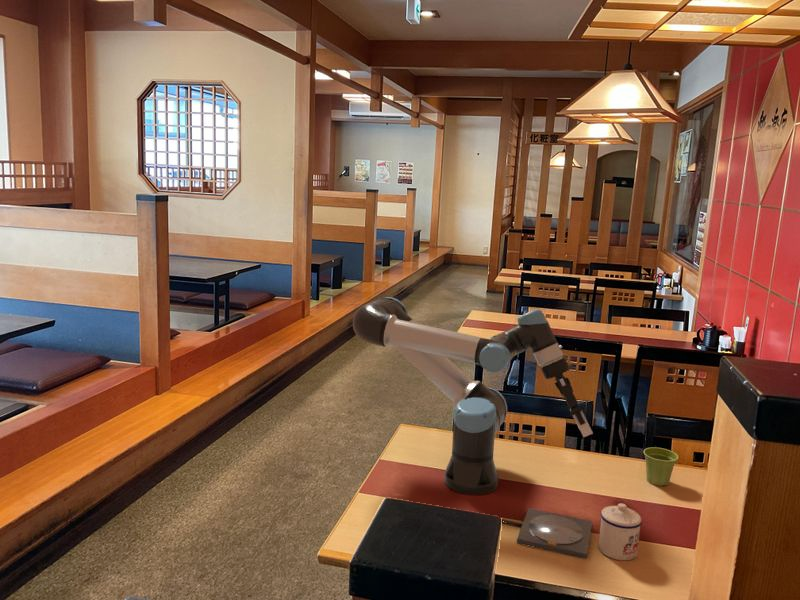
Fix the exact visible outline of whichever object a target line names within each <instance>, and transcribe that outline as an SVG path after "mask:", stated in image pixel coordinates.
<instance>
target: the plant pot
mask: <svg viewBox="0 0 800 600" xmlns="http://www.w3.org/2000/svg"><path fill="white" fill-rule="evenodd" d="M642 454H643V455H644V458H645V471H646V475H645V477H646V480H647V482H649V483H650V484H652V485H653V486H659V487H661V486H668V485H669V484H670V480H671V477H672V474H673V470H674V467H675V464H676V463H677V461H678V460H679V455H678V454H677V453H676V452H674V451H672V450H670V449H667V448H662V447H657V446H654V447H647V448H645V449H644V450H643V453H642Z"/></svg>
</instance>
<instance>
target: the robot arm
mask: <svg viewBox="0 0 800 600" xmlns="http://www.w3.org/2000/svg"><path fill="white" fill-rule="evenodd" d="M352 328H353V331H354V333H355V335H356V336H357V337H358V339H360V340H362V341H363V342H365V343H367V344H371V345H376V346H380V347H383V348H388V349H396V350H397V351H398V352H399V353H400V354H401V355H402V356H404V358H406V359H407V361H409V362H410V363H411V365H413V366H414V367H415V368H416V369H417V370H419V372H421V373H422V374H423V375H424V376H425V377H426V378H427V379H428V380H429V381H430V382H431V383H432V384H434V386H436V388H438V389H439V390H440V391H441V392H442V393H443V394H444V395H445V396H446V397H448V398H449V399H450V400H451V401H452V404H453V405H452V407H453V416H452V418H453V419H452V420H453V427H452V446H451V448H452V450H451V456H450V459H449V460H448V461H449V462H448V464H447V466H446V469H445V471H444V477H443V478H444V479H443V480H444V484H445V485H446V487H448V488H449V489H450V490H452V491H455V492H457V493H461V494H465V495H474V496H477V495H486V494H489V493H492V492H494V491H496V489H497V488H498V483H499V476H498V472H497V468H496V465H495V462H494V461H495V460H494V449H495V437H496V434H497V432H498V431H499V429H500V427H501V426H502V425H503V424H504V422H505V420H506V417H507V413H508V405H507V400H506V398H505V397H504V396H503V394H502V393H501V392H499V390H497V389H495V388H492V387H487V386H485V385H484V384H483V383H482V382H481V381H480V380H472V379H471V378H469V376H468V375H467V374H465V372H464V371H462V370H461V369H460V368H458V366H457V365H455V363H453V361H451V360H450V359H453V360H455V361H460V362H463V363H464V362H466V363H469V364H473V365H478V366H481V368H482V369H484V370H485V371H487V372H489V373H498V372H501V371H502V370H504V369H505V368H507V367H508V365H509V363H511V361H512V359H513V358H514V357H515V356H517V355H518V354H521V353H523V352H526V351H527V350H529V349H530V350H531V352H532V354H533V356H534V358H535V361H536V362H537V365H538V366H539V367H540V370H541V372H542V375H543V377H544V378H545V379H546V380H549V379H551V380H552V379H553V378H554V381H556V382H554V384H555V386H556V389H557V390H558V392H559V393H560V395H561V396H562V397H564V400H565V402H566V405H567V406H568V407H567V408H569V411H570V412H568V413H569V415H570V416H571V417H573V419H574V421H575V424H576V425H577V427H578V430H579V431H580V433H581V435H582V437H583V438H585V437H588V436H590V435H593V434H594V433H593V430H592V429H591V426H590V424H589V422H588V420H587V418H586V416H585V414H584V412H583V410H582V408H581V406H580V402H579V400H577V397H576V396H575V394H574V390H573V387H572V385H571V384H572V383H571V381H570V379H569V378H568V377H566V376H564V373H566V372H568V371H570V369H571V367H570V364H569V363H568V361H567V359H566V357H563V356H564V353H563V351H562V350H561V349H562V348H563V346H562V345H561V344H559V343H558V340H557V339H556V337H555V334H554V331H553V330H552V328H551V326H550V324H549V321H548V320H547V318H546V316H545V315H544V313H543V311H542V310H541V309H539V308H537V309H533V310H531V311H528V312H527V313H524V314H522V315H520V316H518V317H517V325H515V326H513V327H512V328H509V329H507V330H505V331H503V332H501V333H498V334H496V335H493V336H491V337H489V338H485V337H484V338H483V337H480V336H476V335H471V334H468V333H467V334H466V333H463V332H458V331H454V330H450V329H444V328H440V327H436V326H430V325H426V324H422V323H421V324H420V323H416V322H415V320H414V319H413V318H411V316H410V315H408V310H407V308H406V306H405V304H404V303H402V301H400V300H399V299H397V298H395V297H391V296H390V297H388V296H387V297H379V298H377V299H374V300H373V301H371V302H369V303H366V304H363V305H361V306H360V307H359V308H358V309H357V310H356V311H355V313H354V315H353V318H352Z"/></svg>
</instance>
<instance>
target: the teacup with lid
mask: <svg viewBox="0 0 800 600" xmlns="http://www.w3.org/2000/svg"><path fill="white" fill-rule="evenodd" d="M600 517H601V518H600V519H601V520H600V529H599V537H598V549H599V551H600V552H601V553H602V554H604V556H606V557H608V558H611V559H613V560H617V561H631V560H633V559H636V557H637V555H638V549H639V543H640V542H639V541H640V533H641V525H642V523H643V521H642V517H641V516H640V514H639V513H638V512H637V511H635V510H633V509H632V508H629V507H628V506H627V505H626V504H625V503H620V502H619V503H618V504H617V505H608V506H605V507H603V508H602V509H601V512H600Z"/></svg>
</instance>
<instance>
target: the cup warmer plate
mask: <svg viewBox="0 0 800 600" xmlns="http://www.w3.org/2000/svg"><path fill="white" fill-rule="evenodd" d="M501 519H502V518H501ZM503 521H504V523H503V524H506V523H507V524H506V525H511V524H512V525H511V526H517V527H520V530H519V533H518V535H517V538H516V544H518V543H519V545H523V544H524V545H523V546H527V545H529V546H528V547H531V546H534V547H533V548H536V547H537V548H536V549H540V548H542V549H541V550H545V551H549V550H550V551H551V552H553V551H555V553H558V552H559V553H558V554H563V555H568V556H572V557H574V558H576V557H577V558H581V559H584V560H587V559H588V553H589V547H590V540H591V535H592V534H591V533H592V528H593V527H592V526H593V520H589V519H585V518H584V519H583V518H579V517H576V516H575V517H574V516H568V515H565V514H560V513H556V512H551V511H545V510H541V509H540V510H539V509H536V508H531V507H528V509H527V511H526V514H525V517H524V519H523V522H522V523H521V522H517V521H512V520H507V519H504V518H503V519H502V522H503ZM505 522H506V523H505Z"/></svg>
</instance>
